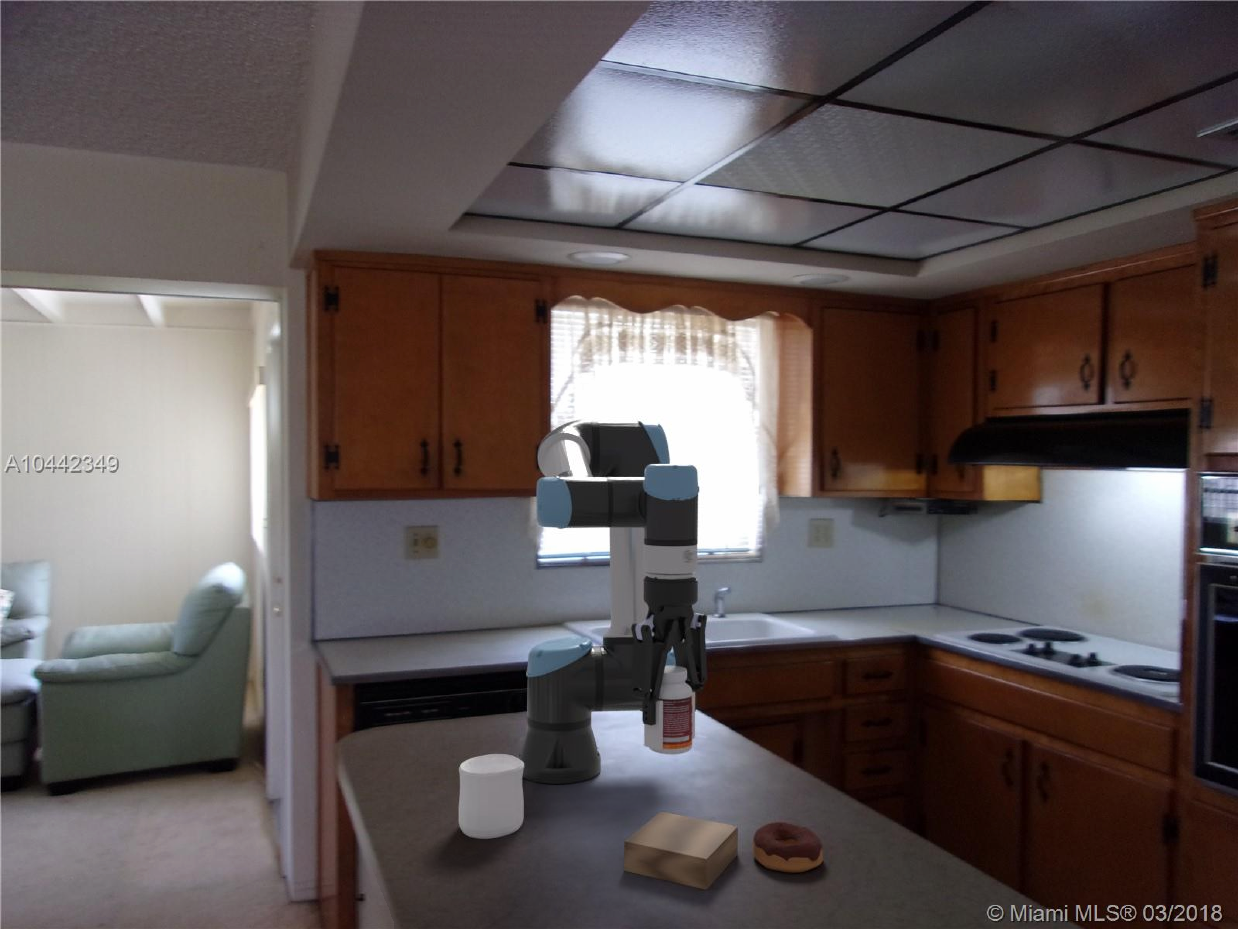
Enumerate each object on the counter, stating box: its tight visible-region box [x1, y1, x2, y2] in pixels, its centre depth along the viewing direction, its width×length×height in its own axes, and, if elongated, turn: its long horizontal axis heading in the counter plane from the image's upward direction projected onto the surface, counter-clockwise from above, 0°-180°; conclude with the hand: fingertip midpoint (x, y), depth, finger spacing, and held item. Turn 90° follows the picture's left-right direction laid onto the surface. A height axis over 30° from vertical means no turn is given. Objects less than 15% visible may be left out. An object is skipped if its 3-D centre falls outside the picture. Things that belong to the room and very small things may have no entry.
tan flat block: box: [623, 811, 739, 891], centre depth 126 cm, size 12×12×4 cm
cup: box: [458, 753, 525, 840], centre depth 138 cm, size 10×10×10 cm
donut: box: [752, 821, 824, 874], centre depth 127 cm, size 10×10×4 cm
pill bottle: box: [648, 665, 693, 756], centre depth 125 cm, size 6×6×11 cm
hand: (669, 741), depth 125 cm, fingers closed on pill bottle, 6 cm apart
